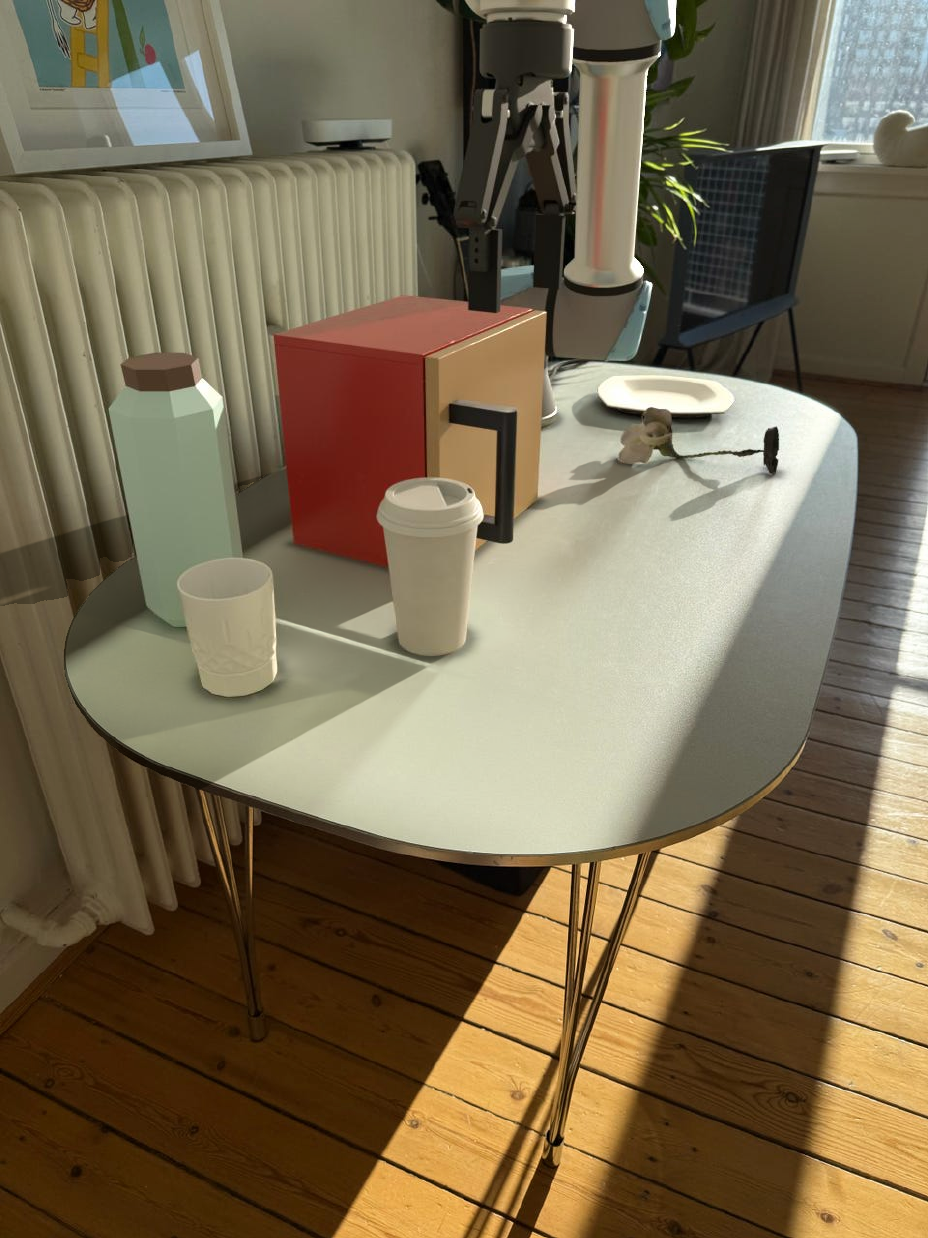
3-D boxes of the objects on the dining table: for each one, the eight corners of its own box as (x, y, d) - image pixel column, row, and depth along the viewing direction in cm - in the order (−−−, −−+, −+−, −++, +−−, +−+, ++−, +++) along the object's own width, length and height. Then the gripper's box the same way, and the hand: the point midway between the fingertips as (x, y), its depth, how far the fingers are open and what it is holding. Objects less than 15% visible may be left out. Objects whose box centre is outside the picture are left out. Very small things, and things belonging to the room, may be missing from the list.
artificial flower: (773, 493, 123) (773, 430, 117) (614, 485, 133) (606, 426, 126) (782, 456, 129) (784, 394, 123) (629, 452, 139) (623, 394, 132)
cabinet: (525, 498, 118) (533, 308, 106) (426, 577, 98) (422, 354, 86) (408, 474, 125) (403, 294, 113) (293, 544, 105) (273, 334, 93)
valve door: (588, 509, 114) (603, 317, 103) (498, 594, 94) (504, 367, 83) (527, 497, 118) (535, 310, 106) (428, 576, 98) (424, 356, 86)
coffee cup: (471, 670, 82) (472, 518, 74) (370, 659, 84) (361, 509, 76) (489, 619, 90) (492, 478, 83) (397, 610, 92) (392, 470, 84)
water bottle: (143, 595, 94) (96, 353, 82) (238, 578, 98) (207, 343, 85) (154, 640, 86) (104, 380, 74) (258, 620, 90) (227, 368, 77)
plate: (737, 428, 144) (739, 415, 143) (592, 419, 148) (593, 407, 147) (726, 389, 164) (728, 378, 163) (599, 382, 168) (600, 372, 167)
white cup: (176, 677, 81) (158, 578, 76) (249, 644, 86) (237, 549, 81) (227, 713, 76) (211, 609, 71) (301, 675, 81) (291, 576, 76)
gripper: (501, 3, 61) (494, 327, 71) (623, 30, 80) (603, 282, 90) (405, 8, 64) (412, 317, 74) (546, 33, 83) (535, 276, 93)
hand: (517, 299), depth 82 cm, fingers open, 13 cm apart
